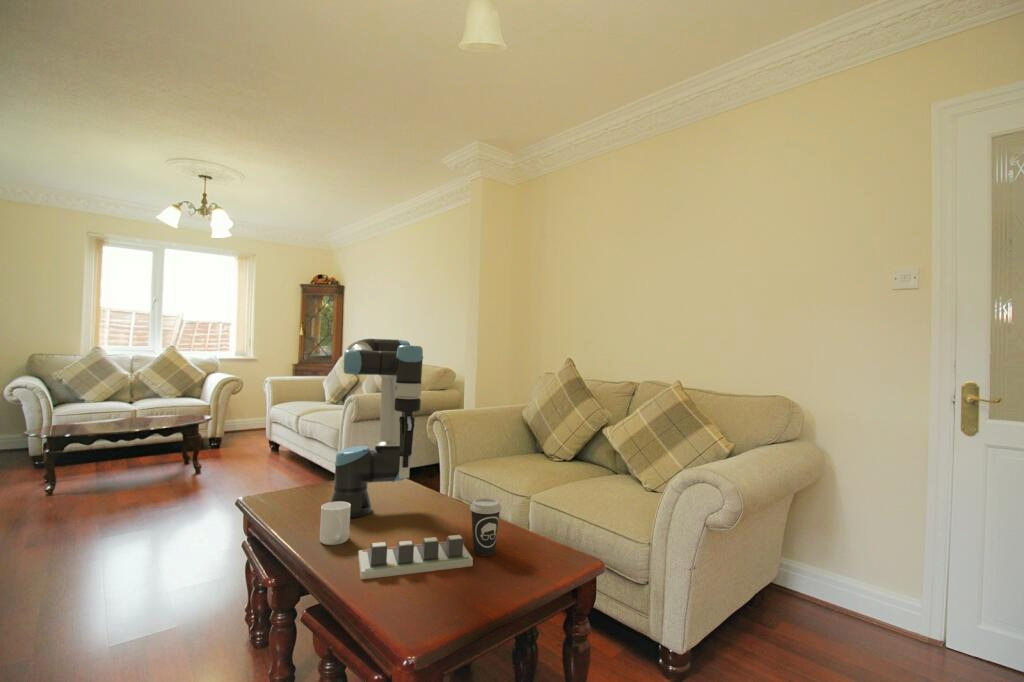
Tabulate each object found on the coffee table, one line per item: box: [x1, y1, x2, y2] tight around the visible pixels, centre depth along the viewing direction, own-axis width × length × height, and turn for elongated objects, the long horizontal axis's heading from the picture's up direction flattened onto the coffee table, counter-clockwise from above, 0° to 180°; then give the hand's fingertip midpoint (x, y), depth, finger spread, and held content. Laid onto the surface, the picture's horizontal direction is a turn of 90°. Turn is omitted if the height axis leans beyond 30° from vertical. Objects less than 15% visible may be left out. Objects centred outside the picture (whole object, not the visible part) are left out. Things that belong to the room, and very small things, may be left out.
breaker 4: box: [446, 534, 464, 557], centre depth 136 cm, size 3×4×5 cm
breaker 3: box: [421, 536, 440, 559], centre depth 133 cm, size 3×4×5 cm
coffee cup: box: [469, 497, 502, 557], centre depth 144 cm, size 10×10×15 cm
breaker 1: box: [370, 541, 388, 565], centre depth 129 cm, size 3×4×5 cm
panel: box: [357, 540, 474, 580], centre depth 135 cm, size 14×30×2 cm, turn 111°
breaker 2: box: [397, 540, 415, 564], centre depth 130 cm, size 3×4×5 cm
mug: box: [319, 501, 351, 546], centre depth 147 cm, size 9×12×11 cm
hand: (404, 477), depth 140 cm, fingers closed
